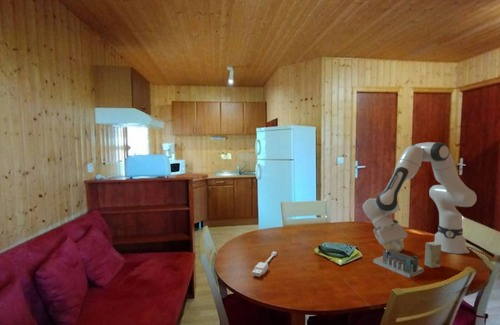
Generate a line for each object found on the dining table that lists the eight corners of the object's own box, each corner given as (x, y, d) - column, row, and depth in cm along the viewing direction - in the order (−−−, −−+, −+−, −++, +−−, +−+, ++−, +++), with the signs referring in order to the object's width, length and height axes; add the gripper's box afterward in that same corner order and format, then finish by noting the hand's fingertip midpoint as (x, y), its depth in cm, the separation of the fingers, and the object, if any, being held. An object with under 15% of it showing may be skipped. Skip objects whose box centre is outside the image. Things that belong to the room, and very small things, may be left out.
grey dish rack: (373, 262, 147) (373, 248, 146) (386, 257, 153) (387, 244, 152) (409, 278, 129) (410, 262, 129) (423, 272, 135) (424, 256, 135)
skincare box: (431, 268, 139) (432, 245, 138) (424, 264, 143) (424, 242, 142) (441, 266, 141) (441, 244, 140) (433, 263, 145) (434, 241, 144)
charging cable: (279, 255, 161) (279, 250, 161) (260, 278, 131) (260, 271, 131) (271, 254, 163) (271, 248, 163) (251, 276, 133) (251, 269, 133)
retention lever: (384, 250, 145) (412, 260, 132) (389, 248, 147) (417, 258, 134) (384, 253, 145) (412, 264, 132) (389, 252, 147) (417, 262, 134)
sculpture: (382, 252, 160) (382, 235, 160) (382, 245, 171) (382, 229, 170) (403, 255, 155) (404, 237, 154) (403, 248, 166) (403, 231, 165)
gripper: (375, 225, 140) (393, 250, 132) (398, 219, 150) (416, 242, 142) (368, 231, 144) (384, 255, 136) (391, 225, 154) (408, 247, 146)
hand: (401, 248), depth 139 cm, fingers closed
